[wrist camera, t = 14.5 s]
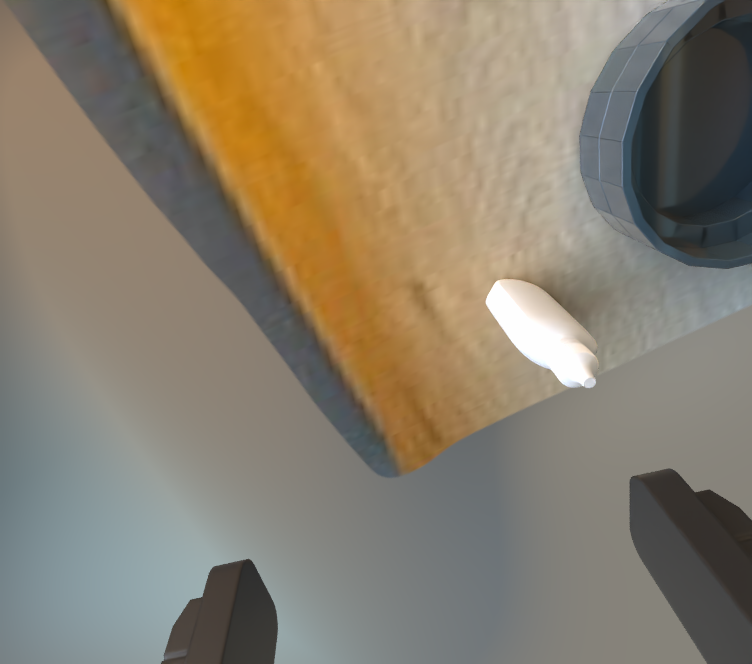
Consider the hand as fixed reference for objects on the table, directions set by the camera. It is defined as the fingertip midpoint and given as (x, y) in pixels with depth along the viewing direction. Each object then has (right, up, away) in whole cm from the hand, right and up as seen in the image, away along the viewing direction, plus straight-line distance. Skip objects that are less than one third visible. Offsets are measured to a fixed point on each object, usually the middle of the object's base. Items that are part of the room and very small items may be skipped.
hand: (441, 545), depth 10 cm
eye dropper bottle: (+10, +7, +28) cm, 30 cm away
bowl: (+20, +18, +23) cm, 36 cm away
